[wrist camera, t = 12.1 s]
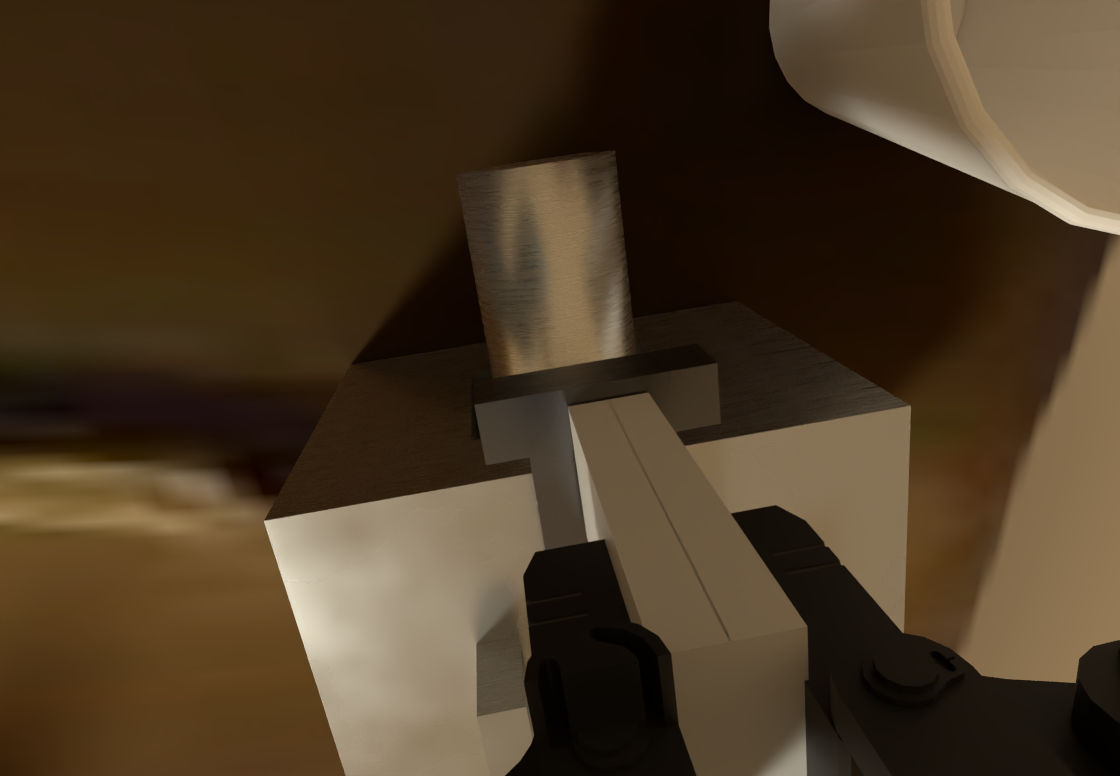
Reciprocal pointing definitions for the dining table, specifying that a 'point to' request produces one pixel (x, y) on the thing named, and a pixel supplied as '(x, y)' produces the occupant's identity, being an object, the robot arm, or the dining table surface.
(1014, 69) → the cup
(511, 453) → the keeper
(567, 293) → the pin
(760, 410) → the hitch block
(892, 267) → the dining table surface
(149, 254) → the dining table surface
